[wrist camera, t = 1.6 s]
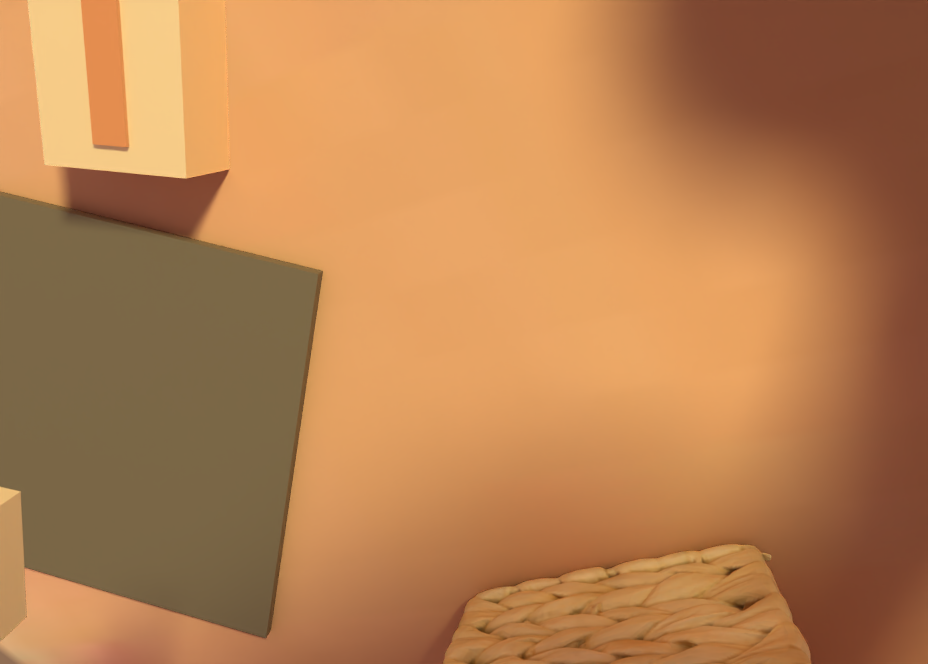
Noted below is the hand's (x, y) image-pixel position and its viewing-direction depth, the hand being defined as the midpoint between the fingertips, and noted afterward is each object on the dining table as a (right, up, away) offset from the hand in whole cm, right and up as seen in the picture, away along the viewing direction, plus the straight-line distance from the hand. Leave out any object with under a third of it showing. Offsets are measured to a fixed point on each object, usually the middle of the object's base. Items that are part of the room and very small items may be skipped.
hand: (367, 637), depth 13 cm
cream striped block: (-11, +18, +18) cm, 28 cm away
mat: (-15, +1, +24) cm, 28 cm away
